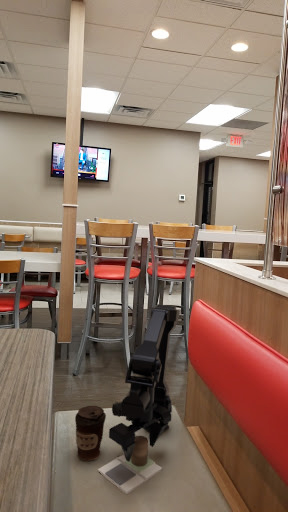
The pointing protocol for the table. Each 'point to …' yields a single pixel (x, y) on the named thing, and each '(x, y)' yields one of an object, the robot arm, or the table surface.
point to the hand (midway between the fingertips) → (140, 453)
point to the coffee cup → (89, 431)
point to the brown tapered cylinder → (140, 451)
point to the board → (128, 473)
